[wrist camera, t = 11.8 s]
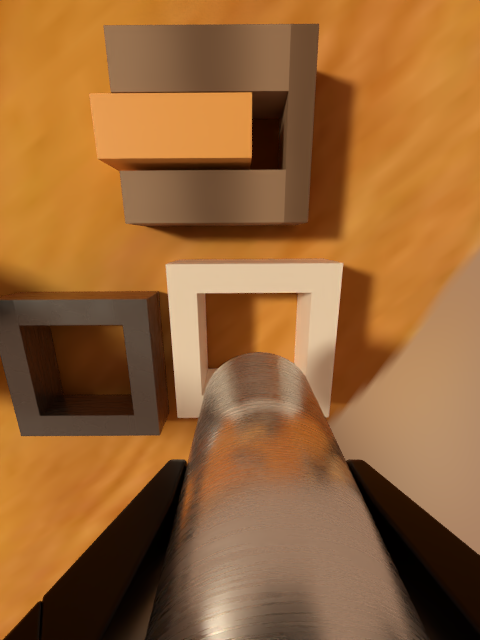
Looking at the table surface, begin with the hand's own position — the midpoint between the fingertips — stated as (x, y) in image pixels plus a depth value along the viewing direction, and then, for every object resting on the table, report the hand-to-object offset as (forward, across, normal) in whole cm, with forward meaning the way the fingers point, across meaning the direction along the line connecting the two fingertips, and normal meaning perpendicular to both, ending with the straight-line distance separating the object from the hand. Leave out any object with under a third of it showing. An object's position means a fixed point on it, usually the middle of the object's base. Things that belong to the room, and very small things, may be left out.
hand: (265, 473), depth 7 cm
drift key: (+12, +4, -11) cm, 16 cm away
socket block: (+12, +10, +2) cm, 16 cm away
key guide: (+12, +2, -11) cm, 16 cm away
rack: (+12, 0, 0) cm, 12 cm away
